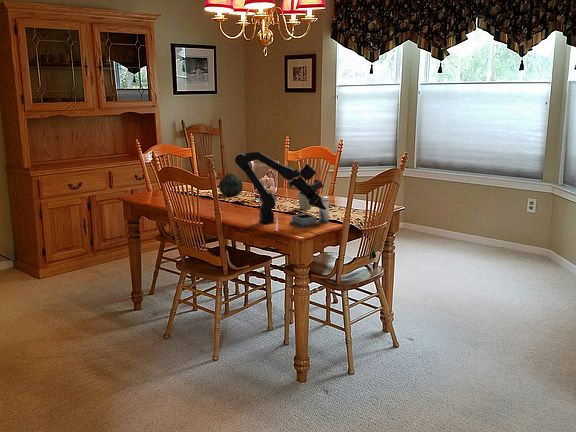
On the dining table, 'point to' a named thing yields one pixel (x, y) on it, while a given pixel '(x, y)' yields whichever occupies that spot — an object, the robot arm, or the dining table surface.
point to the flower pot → (303, 201)
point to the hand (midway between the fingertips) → (324, 207)
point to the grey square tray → (304, 220)
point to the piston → (324, 213)
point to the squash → (230, 185)
